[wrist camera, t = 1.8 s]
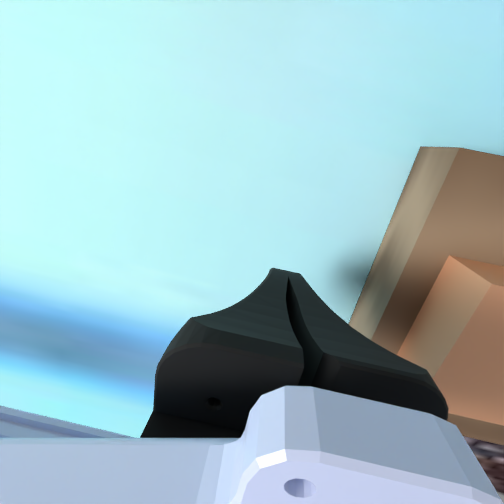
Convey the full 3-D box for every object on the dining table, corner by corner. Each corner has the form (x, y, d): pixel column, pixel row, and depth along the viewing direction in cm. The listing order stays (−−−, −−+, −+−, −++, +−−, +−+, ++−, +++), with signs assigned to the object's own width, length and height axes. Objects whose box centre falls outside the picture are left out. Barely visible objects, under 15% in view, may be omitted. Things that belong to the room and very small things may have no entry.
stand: (510, 407, 18) (553, 456, 15) (331, 366, 18) (339, 407, 15) (684, 199, 12) (803, 215, 9) (420, 146, 12) (459, 147, 10)
